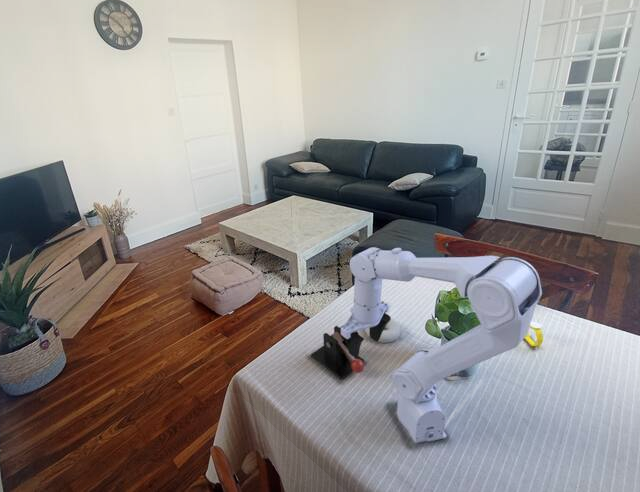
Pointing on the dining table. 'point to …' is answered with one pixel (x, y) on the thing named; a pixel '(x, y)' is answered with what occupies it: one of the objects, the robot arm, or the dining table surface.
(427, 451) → the dining table surface
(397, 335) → the donut
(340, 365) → the bracket
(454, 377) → the blueberries
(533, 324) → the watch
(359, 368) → the lever
